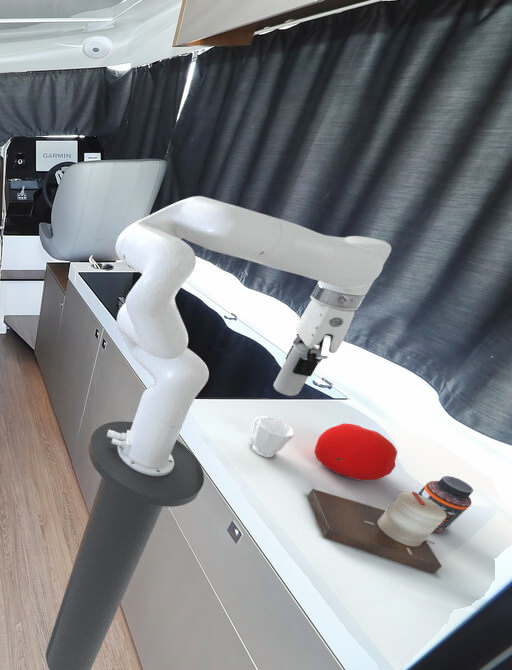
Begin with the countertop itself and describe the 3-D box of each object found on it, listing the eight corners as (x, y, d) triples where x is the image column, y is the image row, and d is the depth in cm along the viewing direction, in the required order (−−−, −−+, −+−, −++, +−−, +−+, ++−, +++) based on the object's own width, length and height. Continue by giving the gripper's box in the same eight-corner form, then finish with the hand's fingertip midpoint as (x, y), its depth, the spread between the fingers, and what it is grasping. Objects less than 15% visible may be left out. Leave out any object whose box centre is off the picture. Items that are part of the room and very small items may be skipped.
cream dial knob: (428, 551, 78) (456, 523, 74) (386, 539, 80) (411, 511, 76) (410, 525, 83) (435, 497, 79) (371, 514, 85) (393, 486, 81)
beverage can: (298, 390, 99) (323, 348, 93) (296, 399, 96) (321, 356, 90) (273, 381, 102) (295, 340, 96) (270, 390, 99) (293, 347, 93)
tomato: (322, 488, 98) (365, 479, 100) (383, 480, 87) (430, 471, 89) (291, 434, 103) (333, 427, 106) (344, 420, 92) (389, 413, 95)
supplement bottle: (403, 520, 87) (436, 483, 82) (402, 503, 91) (433, 466, 85) (446, 539, 83) (483, 501, 78) (443, 520, 87) (478, 483, 82)
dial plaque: (323, 537, 83) (329, 529, 82) (307, 496, 92) (312, 488, 91) (442, 577, 77) (451, 568, 75) (412, 528, 85) (420, 520, 84)
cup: (254, 459, 101) (267, 434, 98) (234, 430, 110) (246, 407, 106) (286, 463, 100) (301, 439, 96) (264, 434, 109) (277, 410, 105)
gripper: (379, 317, 79) (331, 393, 88) (343, 285, 93) (305, 353, 101) (328, 309, 82) (287, 383, 90) (301, 279, 95) (268, 346, 104)
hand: (297, 367), depth 96 cm, fingers closed on beverage can, 4 cm apart
